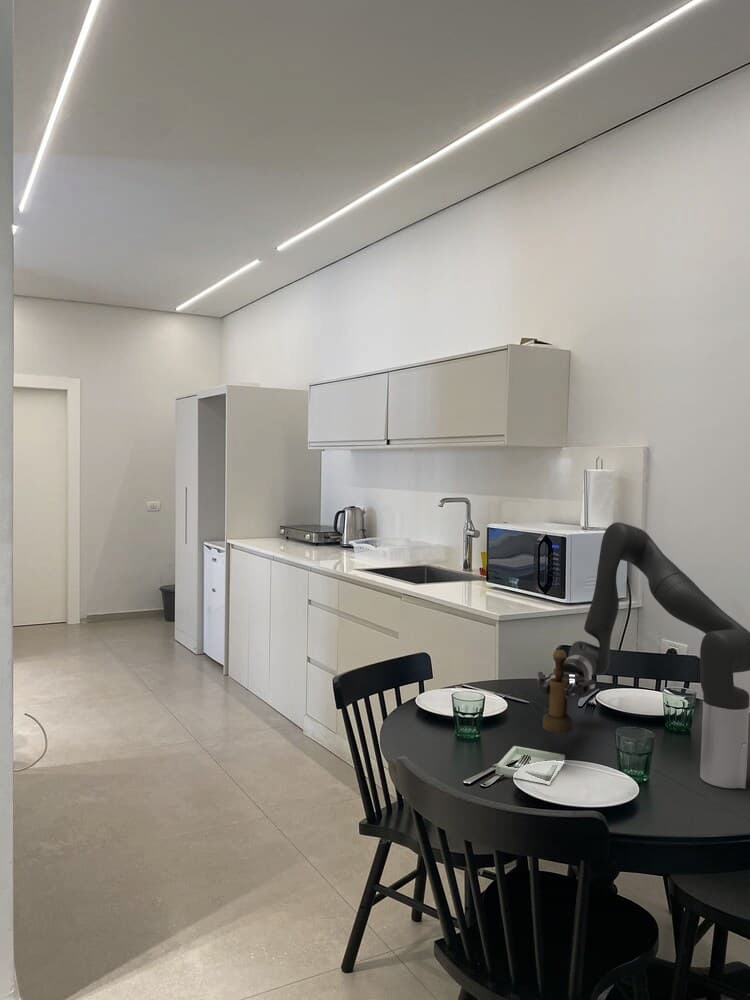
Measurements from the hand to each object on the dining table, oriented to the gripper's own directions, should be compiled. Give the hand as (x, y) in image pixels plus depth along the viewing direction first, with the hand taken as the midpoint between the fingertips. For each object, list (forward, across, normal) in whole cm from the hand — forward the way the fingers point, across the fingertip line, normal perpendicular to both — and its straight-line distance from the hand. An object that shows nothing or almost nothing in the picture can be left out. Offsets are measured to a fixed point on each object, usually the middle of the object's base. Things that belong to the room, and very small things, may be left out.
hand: (555, 692), depth 180 cm
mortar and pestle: (-3, 0, +9) cm, 10 cm away
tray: (+2, -4, +18) cm, 18 cm away
